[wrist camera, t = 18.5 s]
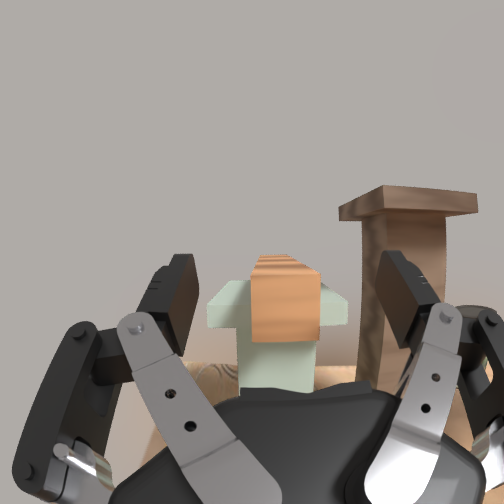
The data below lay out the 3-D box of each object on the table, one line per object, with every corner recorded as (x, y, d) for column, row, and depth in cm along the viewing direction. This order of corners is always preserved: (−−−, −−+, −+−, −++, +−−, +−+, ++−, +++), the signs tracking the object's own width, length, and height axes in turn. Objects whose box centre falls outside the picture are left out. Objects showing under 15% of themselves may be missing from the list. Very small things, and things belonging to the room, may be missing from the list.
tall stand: (331, 410, 39) (338, 206, 38) (396, 400, 39) (410, 208, 38) (355, 474, 23) (382, 185, 22) (438, 452, 23) (476, 193, 22)
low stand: (235, 413, 40) (229, 280, 39) (310, 411, 40) (316, 278, 39) (222, 481, 24) (206, 305, 24) (326, 479, 24) (348, 301, 23)
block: (260, 281, 38) (260, 255, 38) (286, 280, 38) (286, 254, 38) (252, 342, 14) (250, 275, 14) (319, 340, 14) (320, 274, 14)
